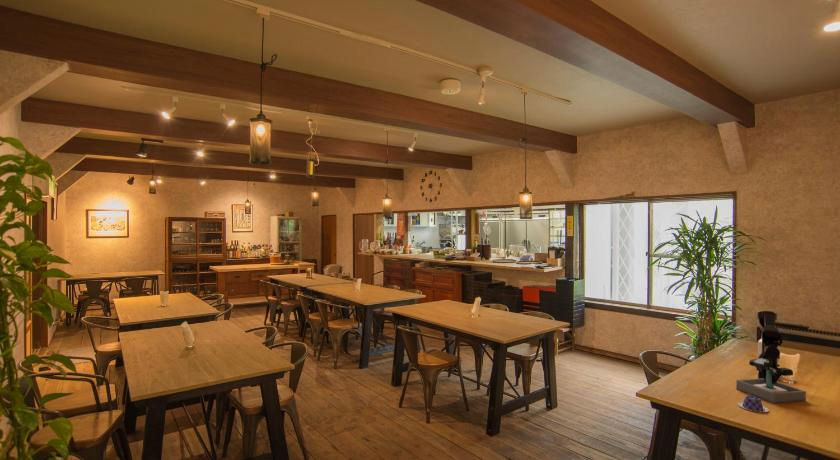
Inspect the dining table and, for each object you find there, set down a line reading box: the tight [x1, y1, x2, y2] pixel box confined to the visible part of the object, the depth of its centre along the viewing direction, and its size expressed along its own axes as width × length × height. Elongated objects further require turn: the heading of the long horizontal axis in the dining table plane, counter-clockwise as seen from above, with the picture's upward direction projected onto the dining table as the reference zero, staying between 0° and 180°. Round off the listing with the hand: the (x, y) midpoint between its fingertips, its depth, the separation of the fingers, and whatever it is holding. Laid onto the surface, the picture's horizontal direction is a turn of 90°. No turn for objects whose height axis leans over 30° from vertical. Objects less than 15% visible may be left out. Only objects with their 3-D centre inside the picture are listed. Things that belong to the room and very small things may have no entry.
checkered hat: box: [737, 395, 770, 413], centre depth 209 cm, size 12×12×5 cm
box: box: [735, 378, 807, 405], centre depth 226 cm, size 20×20×5 cm
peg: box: [766, 369, 774, 389], centre depth 226 cm, size 3×3×9 cm
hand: (770, 383), depth 226 cm, fingers closed on peg, 3 cm apart
